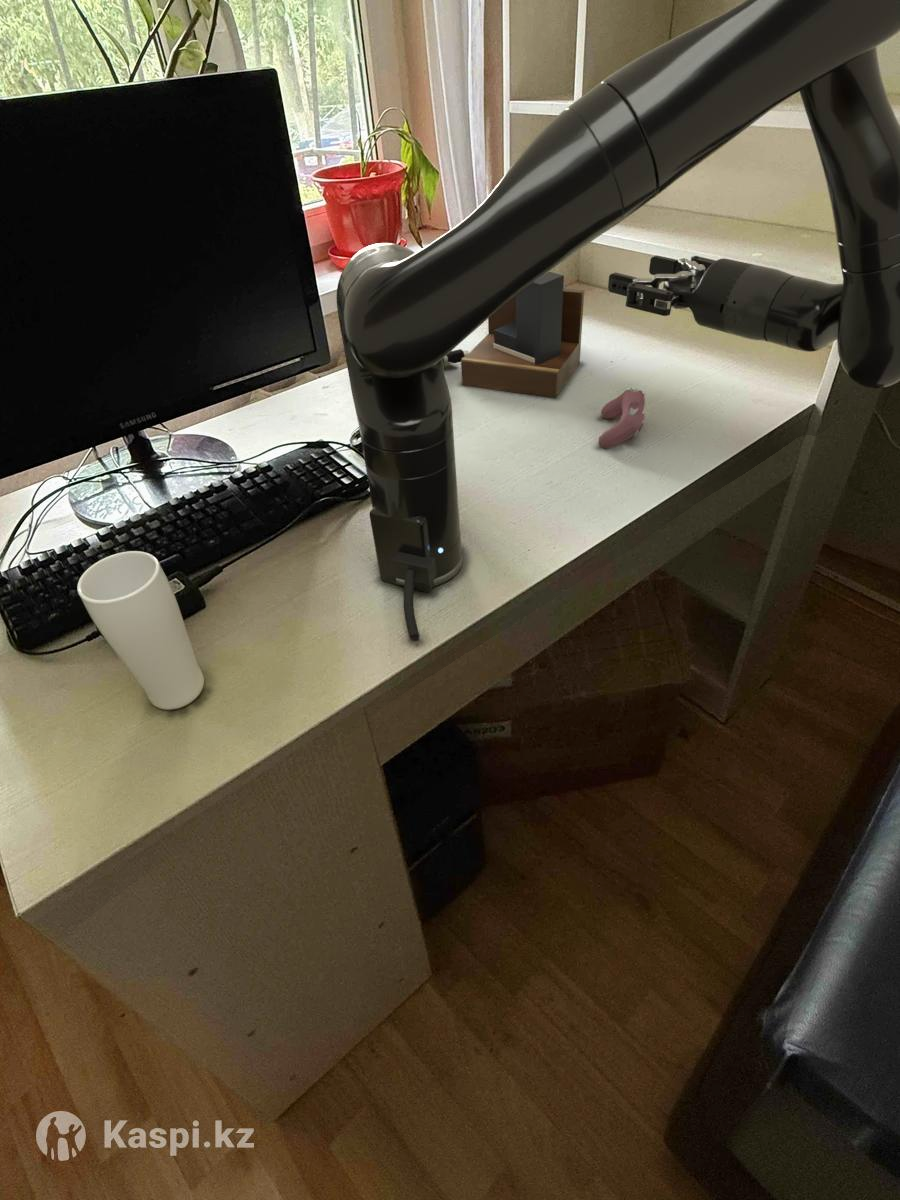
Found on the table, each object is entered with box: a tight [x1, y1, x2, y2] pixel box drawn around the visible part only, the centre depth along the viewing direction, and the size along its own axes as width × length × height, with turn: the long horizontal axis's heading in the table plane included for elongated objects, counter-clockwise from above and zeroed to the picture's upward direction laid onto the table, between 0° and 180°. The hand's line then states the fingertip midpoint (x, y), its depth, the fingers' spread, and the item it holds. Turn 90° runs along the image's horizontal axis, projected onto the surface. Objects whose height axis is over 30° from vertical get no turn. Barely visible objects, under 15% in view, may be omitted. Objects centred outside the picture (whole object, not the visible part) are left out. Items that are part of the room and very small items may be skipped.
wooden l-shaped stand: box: [460, 288, 585, 399], centre depth 110 cm, size 13×16×12 cm
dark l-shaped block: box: [493, 271, 565, 364], centre depth 107 cm, size 10×5×12 cm, turn 42°
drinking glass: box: [76, 550, 205, 711], centre depth 62 cm, size 7×7×15 cm
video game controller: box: [598, 387, 646, 449], centre depth 96 cm, size 10×5×7 cm, turn 168°
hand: (631, 272), depth 88 cm, fingers open, 8 cm apart
